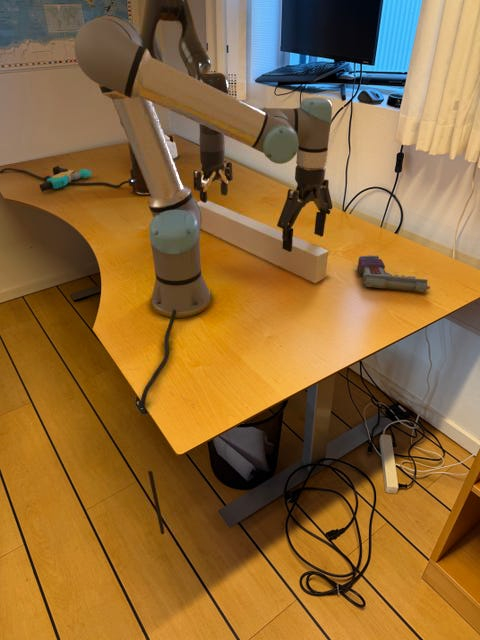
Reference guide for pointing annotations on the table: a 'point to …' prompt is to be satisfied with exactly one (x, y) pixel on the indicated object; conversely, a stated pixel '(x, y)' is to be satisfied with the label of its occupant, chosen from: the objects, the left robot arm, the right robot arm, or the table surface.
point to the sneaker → (171, 145)
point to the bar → (264, 241)
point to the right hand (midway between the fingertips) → (303, 242)
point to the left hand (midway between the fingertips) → (214, 198)
